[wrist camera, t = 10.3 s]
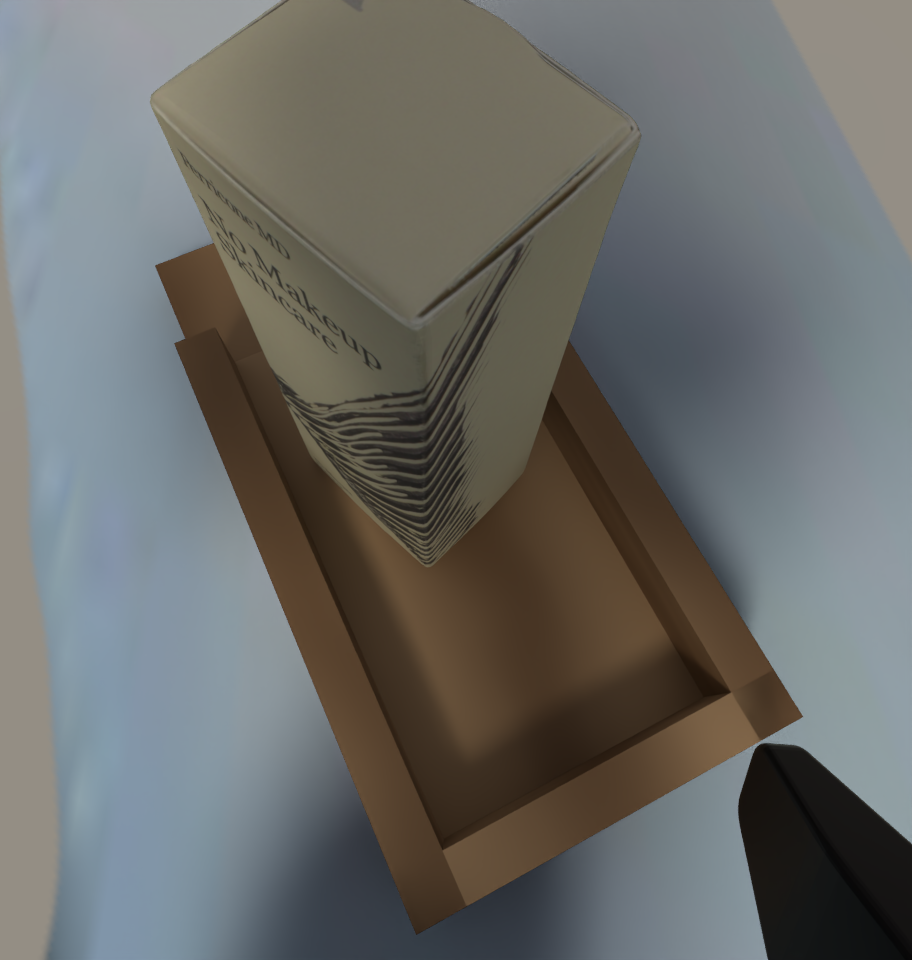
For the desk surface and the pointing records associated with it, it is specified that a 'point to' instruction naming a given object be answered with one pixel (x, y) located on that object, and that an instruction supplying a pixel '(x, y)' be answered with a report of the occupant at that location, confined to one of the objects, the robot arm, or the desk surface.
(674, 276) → the desk surface
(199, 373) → the tray
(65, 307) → the desk surface
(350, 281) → the box
